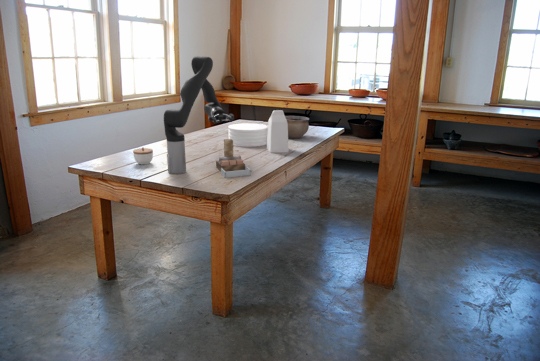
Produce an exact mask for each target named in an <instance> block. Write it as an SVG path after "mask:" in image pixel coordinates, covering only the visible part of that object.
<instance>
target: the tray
mask: <svg viewBox="0 0 540 361" xmlns="http://www.w3.org/2000/svg"><path fill="white" fill-rule="evenodd" d="M251 171H252V170H251V168H249V167H248V166H247V165H245V170H238V171H228V172H225V171H224V170H223V169H222V168H221V172H220V174H221V176H223V177H224V178H237V177H246V176H251V174H252V172H251Z"/></svg>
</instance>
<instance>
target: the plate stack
mask: <svg viewBox="0 0 540 361" xmlns="http://www.w3.org/2000/svg"><path fill="white" fill-rule="evenodd" d="M227 127H228V131H227V132H228V134H227V135H228V139H232V140H233V146H236V147H242V148H243V147H249V148H250V147H254V148H255V147H261V146H267V135H268V124H264V123H263V124H262V123H252V122H247V123H246V122H243V123H233V124H229V125H228V126H227Z"/></svg>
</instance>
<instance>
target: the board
mask: <svg viewBox="0 0 540 361" xmlns="http://www.w3.org/2000/svg"><path fill="white" fill-rule="evenodd" d="M245 166H246V164H245V162H243V164H236V165H226V166H222V165H221V164H220V163H219V160H215V168H216V170H218V171H219V172H220V173H221V168H222V169H223V170H224V171H225V172H228V171H238V170H245Z"/></svg>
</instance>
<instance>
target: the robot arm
mask: <svg viewBox="0 0 540 361" xmlns="http://www.w3.org/2000/svg"><path fill="white" fill-rule="evenodd" d="M190 64H191V65H190V66H191V68H192V69H191V70H192V72H193V74H194V75H193V76H191V77H189V78H188V79H186V80H185V82H184V83H183V85H182V87H181V89H180V94H179V95H180V99H181V101H182V104H181V107H180V109H176V108H175V109H174V108H173V109H172V108H170V109H169V108H168V109H166V110H165V111H164V113H163V126H164V135H165V137H166V149H167V154H166V160H167V162H166V163H167V171H168V173H169V174H170V175H171V174H172V175H179V174H180V175H181V174H184V173H187V162H186V160H187V159H186V140H185V134H183V133H182V132H180V131H178V130H177V129H182V128H184V127H185V126H186V124H187V123H188V119H189V117H190V114H191V111H192V108H193V106H194V104H195V102H196V100H197V97H198V96H199V94H200V92H201V91H202V94H203V97H204V101H205V102H206V104H205V106H204V108H203V109H204V112H205V114H206V115H208V116H207V118H208V122H209V123H211V122H213V123H215V124H217V123H221V122H224V121H225V122H228V121H229V123H232V122H233V121H235V115H234V114H233V113H229V114H227V113H226V112H225V111H224V109H223V108H222V105H221V103H220V101H219V99H218V98H217V96H216V91H215V88H214V86H213V84H212V83H211V82H210V81H209V80H208V76H210V74H211V72H212V70H213V65H214V61H213V59H212V58H211V57H210V56H202V55H200V56H199V55H196V56H193V57H192V59H191V63H190Z"/></svg>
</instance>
